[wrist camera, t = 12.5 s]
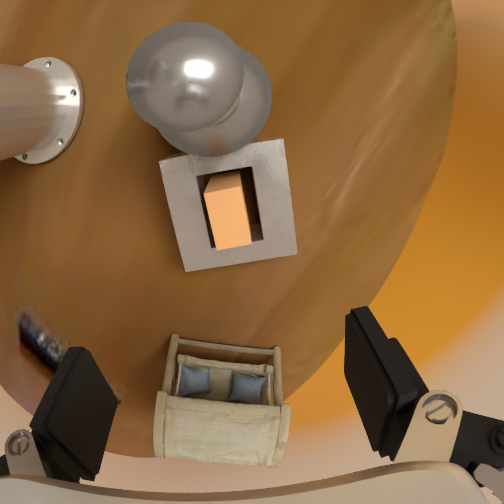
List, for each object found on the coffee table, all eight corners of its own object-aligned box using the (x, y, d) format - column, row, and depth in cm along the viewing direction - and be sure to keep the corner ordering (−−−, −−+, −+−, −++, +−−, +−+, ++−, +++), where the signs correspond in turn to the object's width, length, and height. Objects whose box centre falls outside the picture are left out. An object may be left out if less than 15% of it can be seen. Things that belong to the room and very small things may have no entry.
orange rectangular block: (220, 220, 34) (216, 250, 27) (211, 176, 32) (203, 193, 25) (248, 215, 34) (252, 243, 27) (239, 170, 32) (240, 186, 25)
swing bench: (281, 343, 42) (298, 432, 28) (267, 390, 45) (277, 472, 32) (170, 330, 40) (149, 420, 26) (169, 380, 44) (154, 463, 30)
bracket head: (191, 251, 36) (155, 385, 17) (154, 68, 27) (54, 17, 9) (289, 235, 35) (341, 360, 17) (261, 48, 27) (298, -41, 9)
